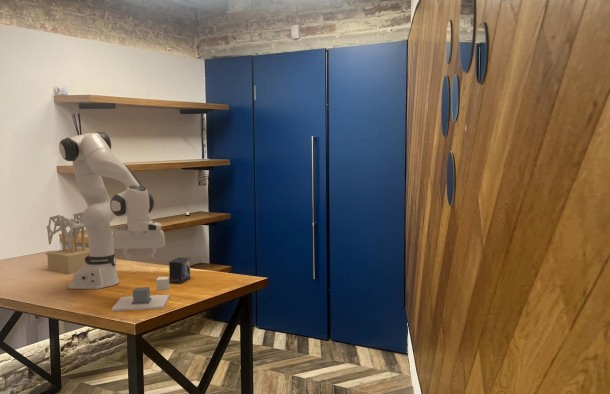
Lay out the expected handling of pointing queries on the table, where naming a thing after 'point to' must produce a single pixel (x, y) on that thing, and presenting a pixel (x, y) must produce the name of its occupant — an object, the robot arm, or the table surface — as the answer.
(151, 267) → the table surface
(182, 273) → the small box
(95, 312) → the table surface
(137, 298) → the slate block
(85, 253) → the kinetic sculpture
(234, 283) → the table surface
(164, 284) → the off-white block
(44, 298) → the table surface
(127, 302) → the plate
